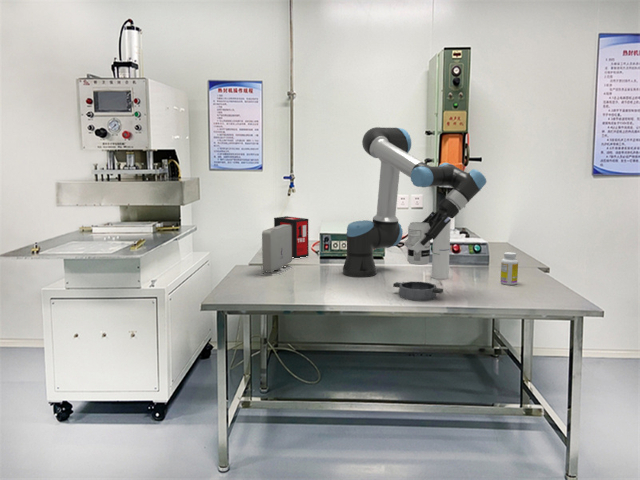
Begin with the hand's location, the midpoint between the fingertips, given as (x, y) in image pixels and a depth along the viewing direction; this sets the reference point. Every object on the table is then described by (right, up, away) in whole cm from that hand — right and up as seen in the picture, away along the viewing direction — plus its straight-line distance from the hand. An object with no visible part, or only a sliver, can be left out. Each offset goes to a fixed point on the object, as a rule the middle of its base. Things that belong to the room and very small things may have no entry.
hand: (410, 248), depth 206 cm
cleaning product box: (-49, -6, +85) cm, 98 cm away
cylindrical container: (+19, -13, +35) cm, 42 cm away
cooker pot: (+3, -18, +4) cm, 19 cm away
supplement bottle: (+45, -15, +24) cm, 53 cm away
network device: (-53, -11, +49) cm, 73 cm away
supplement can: (+3, -6, +2) cm, 7 cm away
